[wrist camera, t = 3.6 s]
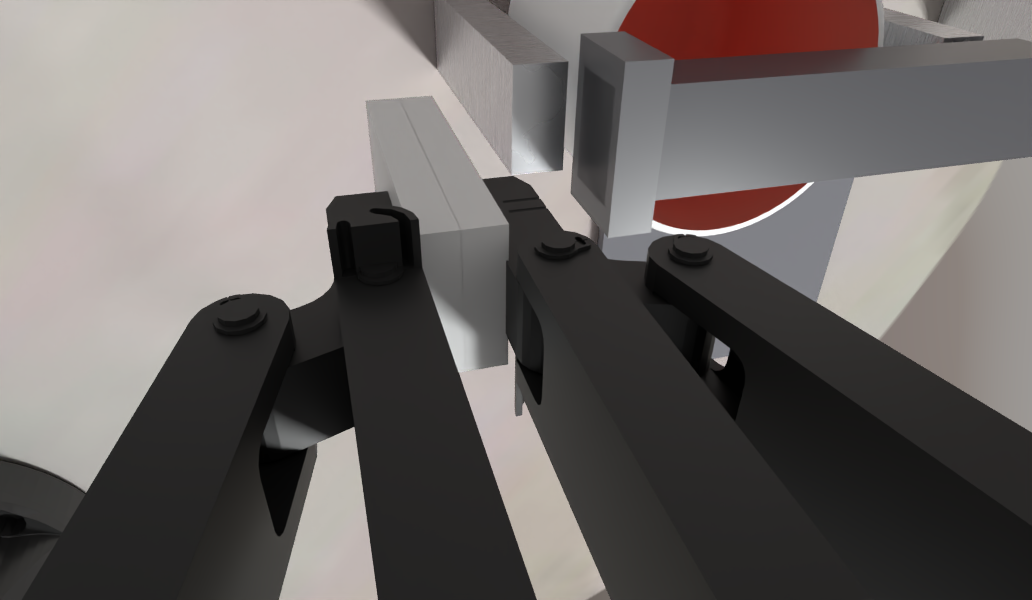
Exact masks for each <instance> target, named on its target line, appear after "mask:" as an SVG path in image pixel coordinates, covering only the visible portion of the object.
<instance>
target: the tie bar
mask: <svg viewBox="0 0 1032 600" xmlns="http://www.w3.org/2000/svg"><path fill="white" fill-rule="evenodd" d="M1025 157H1032V42H1030V41H1026V40H1023V39H1019V38H1013V39H998V40H982V41H966V42H951V43H935V44H920V45H904V46H888V47H873V48H857V49H841V50H826V51H810V52H794V53H779V54H763V55H747V56H732V57H716V58H701V59H685V60H675V59H674V58H672V57H670V56H669V55H667V54H665V53H663V52H661V51H659V50H658V49H656V48H654V47H652V46H650V45H648V44H647V43H645V42H643V41H641V40H639V39H638V38H636V37H634V36H632V35H630V34H628V33H627V32H625V31H621V32H602V33H582V34H581V38H580V54H579V69H578V85H577V101H576V117H575V133H574V149H573V164H572V180H571V194H572V196H573V197H574V198H575V199H576V200H577V202H578V203H579V204H580V205H581V206H582V208H583V209H584V210H585V211H586V212H587V214H588V215H589V216H590V217H591V218H592V220H593V221H594V222H595V223H596V224H597V225H598V227H599V228H600V229H601V230H602V231H603V233H604V234H605V235H606V236H607V237H608V238H613V237H620V236H628V235H636V234H644V233H651V228H652V221H653V214H654V206H655V201H656V200H665V199H674V198H682V197H691V196H699V195H708V194H716V193H725V192H734V191H742V190H751V189H759V188H768V187H776V186H785V185H793V184H802V183H811V182H819V181H828V180H836V179H845V178H853V177H862V176H871V175H879V174H888V173H896V172H905V171H913V170H922V169H931V168H939V167H948V166H956V165H965V164H973V163H982V162H991V161H999V160H1008V159H1016V158H1025Z"/></svg>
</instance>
